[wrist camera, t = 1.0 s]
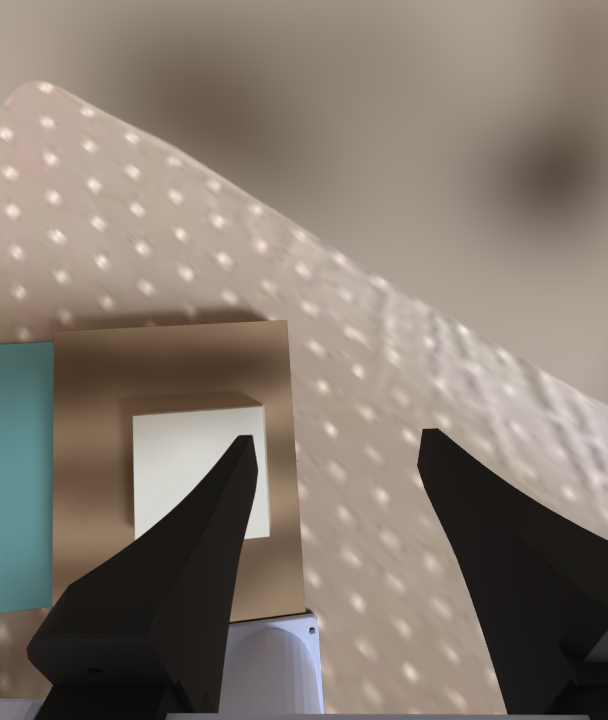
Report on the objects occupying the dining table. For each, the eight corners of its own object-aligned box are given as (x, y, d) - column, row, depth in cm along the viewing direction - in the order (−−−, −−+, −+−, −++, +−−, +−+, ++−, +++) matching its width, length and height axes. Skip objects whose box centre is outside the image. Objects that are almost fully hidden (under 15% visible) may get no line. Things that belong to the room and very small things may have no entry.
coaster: (270, 522, 19) (269, 536, 18) (149, 535, 19) (135, 551, 17) (264, 404, 20) (262, 406, 18) (146, 413, 19) (132, 416, 18)
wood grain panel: (301, 572, 23) (305, 611, 19) (94, 597, 22) (52, 645, 18) (286, 330, 25) (287, 319, 21) (92, 340, 23) (53, 331, 19)
